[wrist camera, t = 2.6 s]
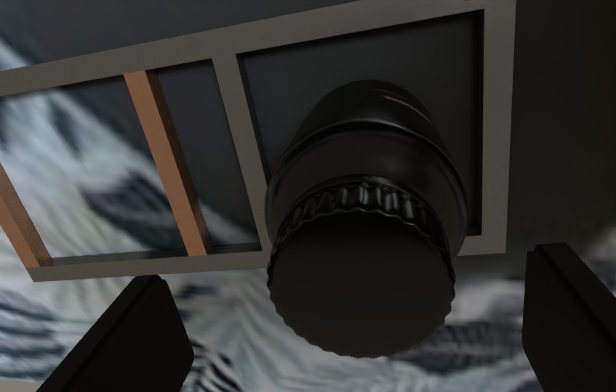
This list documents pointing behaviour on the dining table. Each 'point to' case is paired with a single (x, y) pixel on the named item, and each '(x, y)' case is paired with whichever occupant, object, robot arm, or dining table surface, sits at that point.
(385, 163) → the supplement bottle
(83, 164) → the dining table surface
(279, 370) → the dining table surface
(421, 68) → the dining table surface
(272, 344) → the dining table surface
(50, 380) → the robot arm
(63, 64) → the rectangular frame
